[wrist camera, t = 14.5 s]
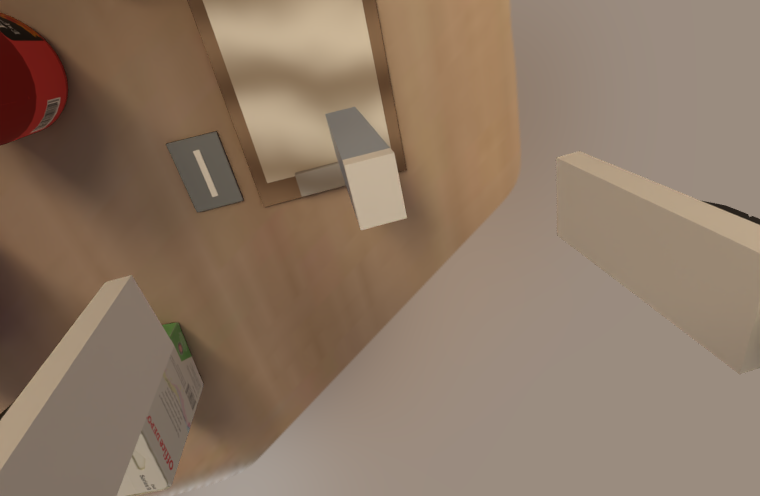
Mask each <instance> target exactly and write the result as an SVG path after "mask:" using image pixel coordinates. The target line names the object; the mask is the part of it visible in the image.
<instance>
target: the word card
mask: <svg viewBox="0 0 760 496" xmlns="http://www.w3.org/2000/svg"><path fill="white" fill-rule="evenodd" d="M166 145H167V148H168V150H169V152H170V154H171V156H172V159H173V161H174V163H175V165H176V167H177V170H178V172H179V174H180V176H181V178H182V180H183V183H184V185H185V187H186V189H187V191H188V194H189V196H190V198H191V200H192V202H193V205H194V207H195V209H196V211H197V212H201V211H205V210H209V209H213V208H217V207H220V206H224V205H228V204H232V203H236V202H240V201H243V197H242V195H241V192H240V190H239V187H238V185H237V182H236V179H235V177H234V174H233V172H232V169H231V167H230V164H229V162H228V159H227V156H226V154H225V151H224V149H223V146H222V144H221V141H220V138H219V136H218V133H217V131H215V132H211V133H207V134H203V135H199V136H195V137H191V138H187V139H183V140H179V141H175V142H171V143H167V144H166Z"/></svg>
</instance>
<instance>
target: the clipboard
mask: <svg viewBox="0 0 760 496" xmlns="http://www.w3.org/2000/svg"><path fill="white" fill-rule="evenodd" d="M187 1H188V3H189V6H190V9H191V11H192V14H193V17H194V20H195V22H196V25H197V28H198V30H199V33H200V36H201V38H202V41H203V44H204V47H205V49H206V52H207V55H208V57H209V60H210V63H211V66H212V68H213V71H214V74H215V76H216V79H217V82H218V85H219V87H220V90H221V93H222V95H223V98H224V101H225V103H226V106H227V109H228V112H229V114H230V117H231V120H232V122H233V125H234V128H235V131H236V133H237V136H238V139H239V141H240V144H241V147H242V150H243V152H244V155H245V158H246V160H247V163H248V166H249V168H250V171H251V174H252V177H253V179H254V182H255V185H256V187H257V190H258V193H259V196H260V198H261V201H262V204H263V206H264V207H266V206H270V205H274V204H278V203H282V202H285V201H289V200H293V199H297V198H301V197H305V196H308V195H312V194H316V193H320V192H324V191H328V190H332V189H335V188H339V187H343V186H346V184H345V181H344V178H343V175H342V172H341V169H340V166H339V163H338V160H337V157H336V153H335V150H334V146H333V142H332V138H331V134H330V131H329V127H328V123H327V119H326V115H325V114H327V113H331V112H335V111H339V110H343V109H347V108H351V107H356V108H357V110H358V111H359V112H360V113H361V114H362V115H363V117H364V118H365V119H366V120H367V121H368V122H369V124H370V125H371V126H372V127H373V128H374V129H375V131H376V132H377V133H378V134H379V135H380V137H381V138H382V139H383V140H384V141H385V142H386V144H387V145H388V146H389V147H390V148H391V149H392V151H393V152H394V154H395V159H396V164H397V169H398V172H401V171H404V170H406V165H405V159H404V154H403V148H402V143H401V137H400V132H399V127H398V121H397V116H396V110H395V105H394V99H393V94H392V88H391V83H390V78H389V72H388V67H387V61H386V56H385V50H384V45H383V39H382V34H381V29H380V23H379V18H378V12H377V7H376V1H375V0H187Z"/></svg>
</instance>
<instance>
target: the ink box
mask: <svg viewBox="0 0 760 496" xmlns="http://www.w3.org/2000/svg"><path fill="white" fill-rule="evenodd" d="M162 326H163V328H164V330H165V331H166V333H167V334H168V336H169V338H170V339H171V341H172V343H173V344H174V347H173V350H172V353H171V355H170V358H169V360H168V363H167V366H166V368H165V371H164V373H163V376H162V379H161V381H160V384H159V387H158V389H157V392H156V394H155V397H154V400H153V402H152V405H151V407H150V410H149V413H148V415H147V418H146V421H145V423H144V426H143V428H142V431H141V434H140V436H139V439H138V441H137V444H136V447H135V449H134V452H133V454H132V457H131V460H130V462H129V465H128V468H127V470H126V473H125V475H124V478H123V481H122V483H121V486H120V488H119V491H118V494H117V496H135V495H141V494H146V493H151V492H156V491H161V490H166V489H168V488H169V487H171V485H172V482H173V479H174V476H175V473H176V470H177V467H178V464H179V461H180V458H181V455H182V451H183V448H184V445H185V442H186V439H187V436H188V433H189V430H190V426H191V423H192V420H193V417H194V414H195V411H196V408H197V404H198V401H199V398H200V395H201V392H202V389H203V385H204V384H203V382H202V379H201V377H200V375H199V372H198V370H197V368H196V365H195V363H194V360H193V358H192V355H191V353H190V351H189V348H188V346H187V343H186V341H185V338H184V336H183V333H182V331H181V328H180V326H179V323H170V324H165V325H162Z"/></svg>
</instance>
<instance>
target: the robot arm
mask: <svg viewBox="0 0 760 496" xmlns="http://www.w3.org/2000/svg"><path fill="white" fill-rule="evenodd" d="M556 187H557V236H559V237H560V238H561V239H563V240H564V241H565V242H567V243H568V244H569V245H570V246H572V247H573V248H574V249H576V250H577V251H578V252H580V253H581V254H582V255H584V256H585V257H586V258H587V259H589V260H590V261H591V262H593V263H594V264H595V265H597V266H598V267H599V268H601V269H602V270H603V271H605V272H606V273H607V274H608V275H610V276H611V277H613V278H614V279H615V280H617V281H618V282H619V283H620V284H622V285H623V286H624V287H626V288H627V289H628V290H629V291H631V292H632V293H633V294H635V295H636V296H637V297H639V298H640V299H641V300H643V301H644V302H645V303H647V304H648V305H649V306H650V307H652V308H653V309H654V310H656V311H657V312H658V313H660V314H661V315H662V316H664V317H665V318H666V319H668V320H669V321H670V322H671V323H673V324H674V325H675V326H677V327H678V328H679V329H681V330H682V331H683V332H685V333H686V334H687V335H689V336H690V337H691V338H692V339H694V340H695V341H697V342H698V343H699V344H700V345H702V346H703V347H704V348H706V349H707V350H708V351H710V352H711V353H712V354H714V355H715V356H716V357H718V358H719V359H720V360H721V361H723V362H724V363H725V364H727V365H728V366H729V367H731V368H732V369H733V370H734V371H736V372H737V373H738V374H742V373H745V372H748V371H752V370H754V369H758V368H760V219H758V218H756V217H753V216H752V217H749V216H748V214H746V213H743V212H741V211H738V210H736V209H733V208H730V207H728V206H725V205H720V204H715V203H709V202H705V201H700V200H698V199H695V198H693V197H690V196H688V195H685V194H683V193H680V192H678V191H675V190H673V189H671V188H668V187H666V186H663V185H660V184H658V183H656V182H653V181H651V180H649V179H646V178H643V177H641V176H639V175H636V174H634V173H631V172H629V171H627V170H624V169H622V168H619V167H617V166H614V165H612V164H609V163H607V162H605V161H602V160H599V159H597V158H595V157H592V156H590V155H587V154H585V153H582V152H580V151H579V152H575V153H571V154H568V155H564V156H561V157H557V158H556ZM173 347H174V344H173V343H172V341H171V339H170V338H169V336H168V334H167V333H166V331H165V330H164V328H163V326H162V325H161V323H160V321H159V320H158V318H157V316H156V315H155V313H154V311H153V310H152V308H151V306H150V305H149V303H148V301H147V300H146V298H145V296H144V295H143V293H142V291H141V290H140V288H139V286H138V285H137V283H136V281H135V280H134V278H133V276H132V275H130V276H126V277H122V278H119V279H115V280H112V281H108V282H105V283H104V284H103V286H102V287H101V288H100V290H99V291H98V292H97V294H96V295H95V296H94V298H93V299H92V300H91V302H90V303H89V304H88V305H87V307H86V308H85V309H84V311H83V312H82V313H81V315H80V316H79V317H78V319H77V320H76V321H75V323H74V324H73V325H72V327H71V328H70V329H69V331H68V332H67V333H66V334H65V336H64V337H63V338H62V340H61V341H60V342H59V344H58V345H57V346H56V348H55V349H54V350H53V352H52V353H51V354H50V356H49V357H48V358H47V359H46V361H45V362H44V363H43V365H42V366H41V367H40V369H39V370H38V371H37V373H36V374H35V375H34V377H33V378H32V379H31V381H30V382H29V383H28V385H27V386H26V387H25V388H24V390H23V391H22V392H21V394H20V395H19V396H18V398H17V399H16V400H15V401H14V402H13V403H12V404H11V405H10V406H9V407H8V408H7V409H6V410H4V411H3V412H2V413H1V414H0V496H117V494H118V491H119V488H120V486H121V483H122V481H123V478H124V475H125V473H126V470H127V468H128V465H129V462H130V460H131V457H132V454H133V452H134V449H135V447H136V444H137V441H138V439H139V436H140V434H141V431H142V428H143V426H144V423H145V421H146V418H147V415H148V413H149V410H150V407H151V405H152V402H153V400H154V397H155V394H156V392H157V389H158V387H159V384H160V381H161V379H162V376H163V373H164V371H165V368H166V366H167V363H168V360H169V358H170V355H171V353H172V350H173Z"/></svg>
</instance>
